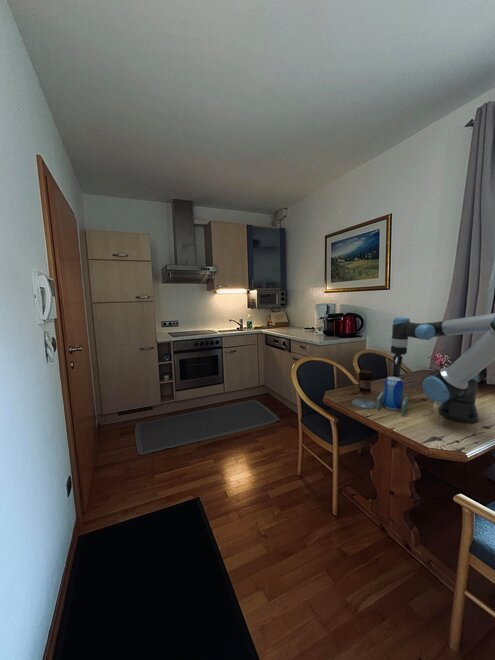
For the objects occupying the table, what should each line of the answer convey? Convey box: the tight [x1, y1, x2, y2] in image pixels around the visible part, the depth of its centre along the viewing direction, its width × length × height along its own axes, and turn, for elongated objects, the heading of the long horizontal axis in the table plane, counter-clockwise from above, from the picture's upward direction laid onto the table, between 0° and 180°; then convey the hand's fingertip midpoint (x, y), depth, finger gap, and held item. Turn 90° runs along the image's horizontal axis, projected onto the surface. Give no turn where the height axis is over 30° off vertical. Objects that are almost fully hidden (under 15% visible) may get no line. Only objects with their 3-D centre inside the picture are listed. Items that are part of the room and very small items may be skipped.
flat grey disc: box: [351, 398, 377, 410], centre depth 141 cm, size 12×12×1 cm
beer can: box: [382, 376, 404, 411], centre depth 135 cm, size 8×8×16 cm
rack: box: [375, 391, 409, 417], centre depth 135 cm, size 12×13×6 cm
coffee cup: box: [358, 370, 374, 394], centre depth 157 cm, size 9×8×13 cm
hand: (395, 387), depth 143 cm, fingers closed
